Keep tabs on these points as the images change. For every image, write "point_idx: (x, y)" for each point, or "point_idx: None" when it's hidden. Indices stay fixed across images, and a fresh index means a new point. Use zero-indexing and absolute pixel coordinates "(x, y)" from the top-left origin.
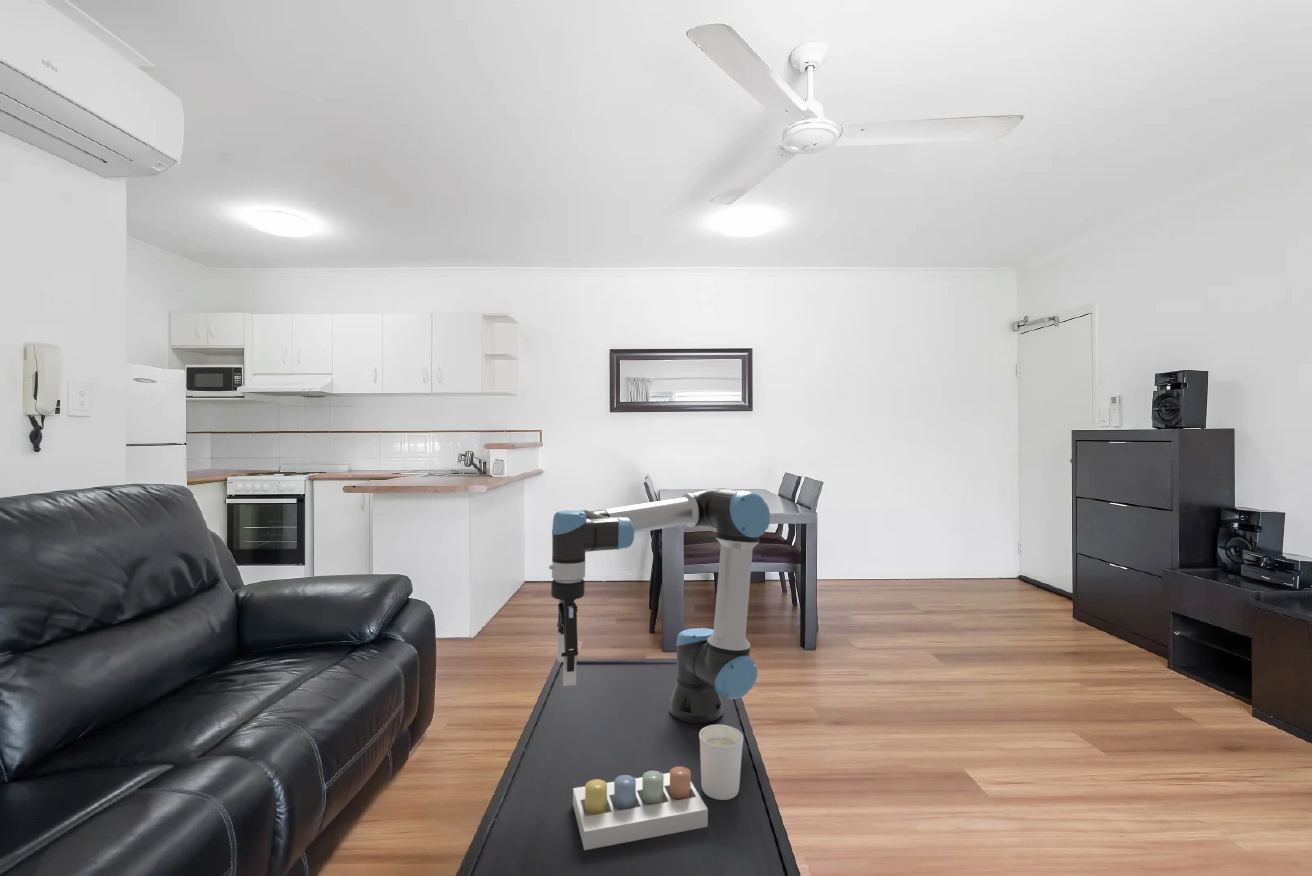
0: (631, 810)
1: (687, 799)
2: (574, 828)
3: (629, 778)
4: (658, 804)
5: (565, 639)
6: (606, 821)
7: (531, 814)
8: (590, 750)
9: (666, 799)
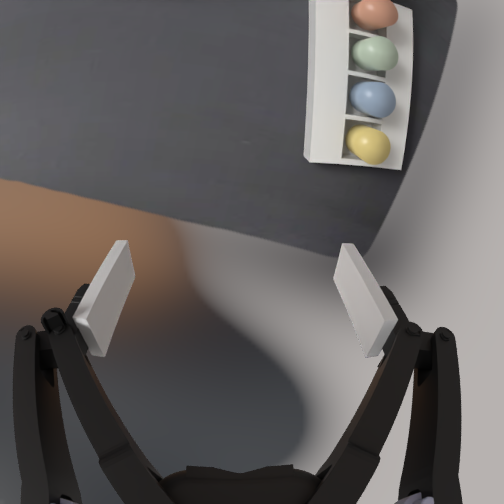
0: None
1: None
2: None
3: (375, 89)
4: None
5: (413, 411)
6: (395, 138)
7: (304, 211)
8: (155, 107)
9: None
